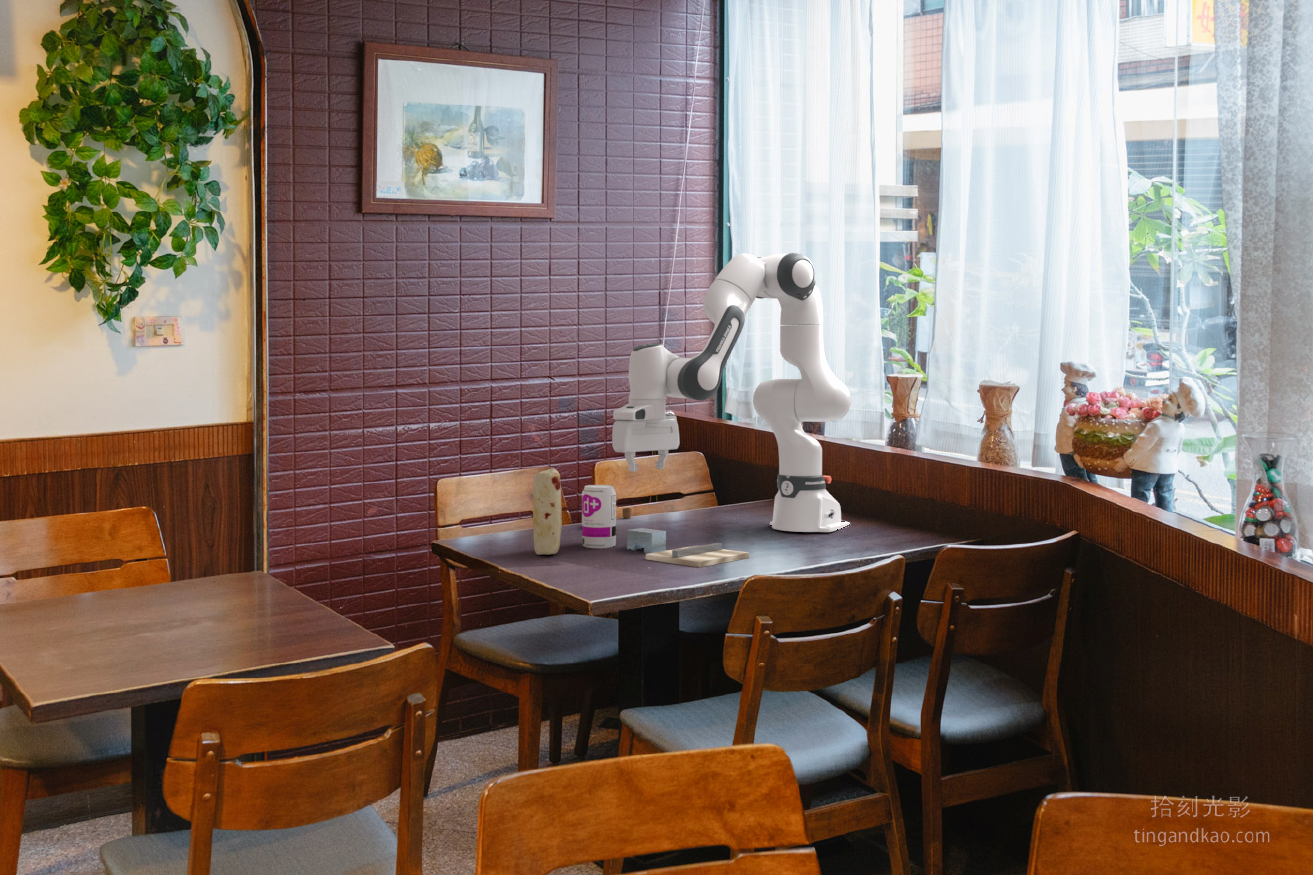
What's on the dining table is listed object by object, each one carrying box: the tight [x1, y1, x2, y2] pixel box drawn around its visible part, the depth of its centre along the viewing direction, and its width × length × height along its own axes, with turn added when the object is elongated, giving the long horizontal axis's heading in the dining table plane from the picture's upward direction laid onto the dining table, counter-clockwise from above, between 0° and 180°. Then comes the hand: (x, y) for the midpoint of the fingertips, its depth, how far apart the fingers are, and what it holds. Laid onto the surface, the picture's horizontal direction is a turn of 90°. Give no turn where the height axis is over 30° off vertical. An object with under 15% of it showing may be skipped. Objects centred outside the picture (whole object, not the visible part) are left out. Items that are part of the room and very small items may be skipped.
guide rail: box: [671, 542, 723, 558], centre depth 275 cm, size 16×2×2 cm, turn 138°
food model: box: [532, 468, 563, 556], centre depth 280 cm, size 10×7×20 cm
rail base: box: [645, 545, 750, 568], centre depth 275 cm, size 18×16×1 cm
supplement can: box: [581, 484, 617, 549], centre depth 290 cm, size 8×8×15 cm
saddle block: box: [626, 527, 667, 554], centre depth 285 cm, size 5×8×5 cm, turn 48°
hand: (646, 470), depth 284 cm, fingers open, 8 cm apart
